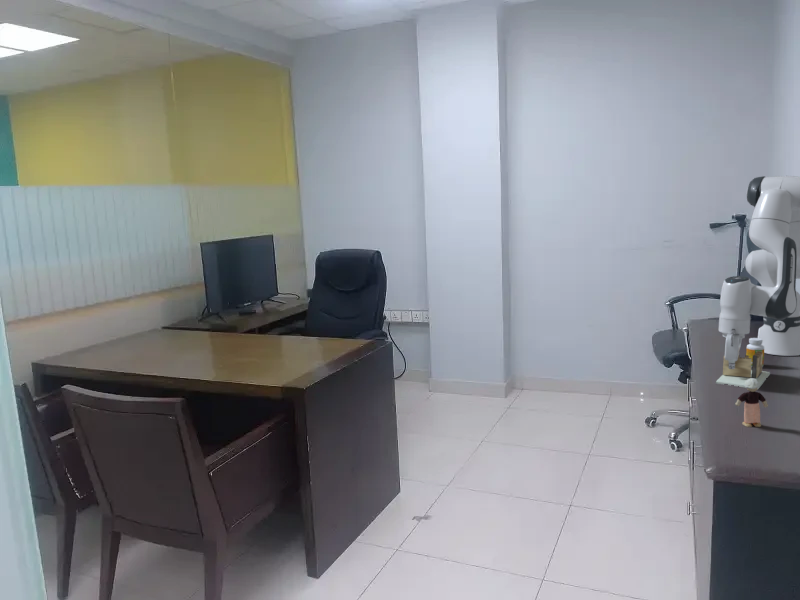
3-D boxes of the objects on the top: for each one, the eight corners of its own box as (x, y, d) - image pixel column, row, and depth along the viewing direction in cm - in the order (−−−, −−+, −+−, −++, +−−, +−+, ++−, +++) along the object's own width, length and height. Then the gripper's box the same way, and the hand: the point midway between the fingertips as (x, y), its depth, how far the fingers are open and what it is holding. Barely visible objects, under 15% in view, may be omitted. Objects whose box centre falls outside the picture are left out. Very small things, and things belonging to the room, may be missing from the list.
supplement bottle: (754, 368, 210) (755, 341, 208) (742, 365, 215) (743, 338, 213) (767, 367, 211) (768, 339, 210) (754, 363, 216) (755, 336, 215)
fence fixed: (756, 371, 205) (757, 350, 203) (761, 372, 204) (762, 350, 202) (750, 378, 197) (751, 356, 196) (756, 378, 196) (757, 356, 195)
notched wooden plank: (750, 376, 198) (751, 355, 197) (750, 377, 197) (751, 356, 196) (723, 373, 203) (723, 353, 201) (722, 374, 201) (723, 354, 200)
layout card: (730, 368, 211) (730, 367, 211) (770, 373, 203) (770, 371, 203) (715, 383, 196) (715, 381, 196) (758, 389, 188) (758, 387, 188)
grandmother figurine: (759, 421, 162) (762, 375, 160) (768, 426, 158) (771, 379, 156) (731, 423, 162) (733, 377, 160) (739, 428, 158) (742, 381, 156)
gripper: (744, 333, 186) (741, 377, 188) (746, 322, 203) (743, 362, 205) (720, 331, 189) (718, 374, 191) (725, 321, 206) (722, 360, 208)
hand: (731, 368), depth 198 cm, fingers closed
